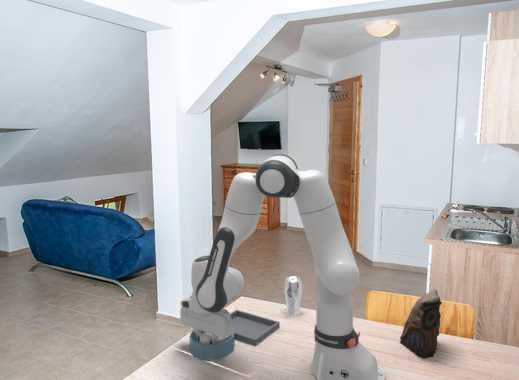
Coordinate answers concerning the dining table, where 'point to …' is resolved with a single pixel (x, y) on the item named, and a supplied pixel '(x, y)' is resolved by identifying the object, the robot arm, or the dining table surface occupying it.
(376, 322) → the dining table surface
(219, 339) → the stone
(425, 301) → the owl
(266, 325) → the tray
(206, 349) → the bowl
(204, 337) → the stone
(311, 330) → the dining table surface
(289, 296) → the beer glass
